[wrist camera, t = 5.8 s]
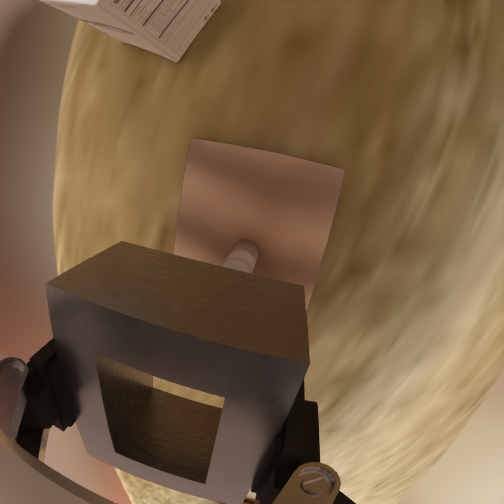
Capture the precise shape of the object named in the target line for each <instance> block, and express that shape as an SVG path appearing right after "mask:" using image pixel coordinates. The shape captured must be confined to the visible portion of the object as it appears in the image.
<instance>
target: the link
mask: <svg viewBox="0 0 504 504" xmlns="http://www.w3.org/2000/svg"><path fill="white" fill-rule="evenodd" d="M46 291H47V299H48V306H49V313H50V320H51V326H52V331H53V338H54V343H55V348H56V352H57V357H58V359H59V360H60V364H61V368H62V372H63V376H64V380H65V384H66V387H67V391H68V394H69V398H70V401H71V404H72V408H73V411H74V414H75V417H76V424H77V426H78V429H79V432H80V434H81V437H82V440H83V442H84V445H85V447H86V450H87V452H88V454H89V455H91V456H93V457H95V458H97V459H99V460H101V461H103V462H105V463H107V464H109V465H112V466H114V467H116V468H118V469H120V470H123V471H125V472H127V473H130V474H132V475H135V476H137V477H140V478H142V479H145V480H147V481H150V482H153V483H155V484H158V485H161V486H164V487H167V488H170V489H173V490H176V491H180V492H183V493H186V494H190V495H193V496H197V497H201V498H205V499H209V500H213V501H217V502H221V503H226V504H242V503H243V501H244V500H245V498H246V496H247V494H248V492H249V491H250V489H251V487H252V481H253V479H254V478H255V476H256V474H257V472H258V470H259V468H260V466H261V464H262V462H263V460H264V458H265V456H266V454H267V452H268V450H269V448H270V446H271V444H272V442H273V440H274V438H275V435H276V434H279V433H280V431H281V429H282V426H283V424H284V422H285V420H286V418H287V416H288V413H289V411H290V409H291V407H292V405H293V402H294V400H295V398H296V395H297V393H298V391H299V389H300V386H301V384H302V381H303V379H304V377H305V374H306V372H307V369H308V367H309V364H310V358H309V342H308V328H307V314H306V302H305V290H304V286H303V285H299V284H294V283H290V282H286V281H281V280H277V279H273V278H268V277H264V276H260V275H256V274H251V273H247V272H243V271H239V270H235V269H230V268H226V267H222V266H218V265H214V264H210V263H206V262H202V261H198V260H194V259H190V258H186V257H182V256H178V255H174V254H170V253H166V252H162V251H158V250H154V249H150V248H146V247H142V246H139V245H135V244H131V243H127V242H123V241H121V242H119V243H117V244H115V245H114V246H112V247H110V248H108V249H106V250H104V251H102V252H100V253H98V254H97V255H95V256H93V257H91V258H89V259H87V260H86V261H84V262H82V263H80V264H78V265H77V266H75V267H73V268H71V269H69V270H68V271H66V272H64V273H62V274H61V275H59V276H57V277H56V278H54V279H52V280H50V281H49V282H47V283H46ZM153 376H155V377H158V378H161V379H164V380H167V381H170V382H173V383H176V384H179V385H183V386H186V387H189V388H193V389H196V390H199V391H203V392H206V393H210V394H214V395H218V396H221V397H225V400H224V405H223V409H222V408H218V407H214V406H210V405H207V404H203V403H200V402H196V401H193V400H189V399H186V398H183V397H180V396H176V395H173V394H170V393H167V392H164V391H161V390H159V389H156V388H153Z"/></svg>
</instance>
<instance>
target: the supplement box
mask: <svg viewBox="0 0 504 504" xmlns="http://www.w3.org/2000/svg"><path fill="white" fill-rule="evenodd" d="M39 1H42V2H44V3H46V4H49V5H51V6H53V7H55V8H57V9H59V10H62V11H64V12H66V13H68V14H70V15H72V16H74V17H76V18H78V19H80V20H82V21H83V22H85V23H87V24H89V25H91V26H93V27H95V28H97V29H98V30H100V31H102V32H104V33H106V34H107V35H109V36H111V37H113V38H115V39H116V40H118V41H120V42H123V43H126V44H130V45H134V46H137V47H140V48H142V49H145V50H148V51H150V52H153V53H156V54H158V55H161V56H163V57H165V58H167V59H170V60H172V61H174V62H176V63H178V62H179V60H180V59H181V57H182V56H183V54H184V53H185V52H186V50H187V49H188V47H189V46H190V44H191V43H192V41H193V40H194V39H195V37H196V36H197V35H198V33H199V32H200V30H201V29H202V28H203V26H204V25H205V24H206V22H207V21H208V20H209V19H210V17H211V16H212V15H213V13H214V12H215V11H216V9H217V8H218V7H219V6H220V4H221V0H39Z"/></svg>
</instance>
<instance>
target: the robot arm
mask: <svg viewBox="0 0 504 504" xmlns="http://www.w3.org/2000/svg"><path fill="white" fill-rule="evenodd" d="M75 421H76V417H75V414H74V411H73V408H72V404H71V401H70V398H69V394H68V391H67V387H66V384H65V380H64V376H63V372H62V368H61V364H60V360H59V359H58V357H57V352H56V348H55V343H54V338H53V339H52V340H51V341H49V342H48V343H47V344H46V345H45V346H44V347H42V348H41V349H40V350H39V351H38V352H37V353H35V354H34V355H33V356H32V357H31V358H30V361H29V362H28V363H27V364H26V363H25V362H24V361H23V360H22V359H20V358H17V357H7V358H4V359H2V360H0V504H117V503H114V502H112V501H110V500H108V499H106V498H104V497H102V496H100V495H98V494H96V493H94V492H92V491H90V490H88V489H86V488H84V487H82V486H80V485H79V484H77V483H75V482H73V481H71V480H70V479H68V478H66V477H65V476H63V475H62V474H60V473H58V472H56V471H55V470H53V469H52V468H50V467H48V466H47V465H46V464H44V456H45V451H46V445H47V439H48V434H49V428H51V427H52V425H54V426H56V427H57V428H59V429H61V430H62V431H65V429H66V428H67V427H68V426H69V427H71V426H72V425H73V424H74V423H75ZM340 485H341V483H340V478H339V476H338V474H337V472H336V471H335V470H334V469H333V468H331V467H330V466H328V465H326V464H323V463H320V444H319V421H318V406H317V403H316V402H313V401H306V400H305V395H304V379H303V381H302V384H301V386H300V389H299V391H298V393H297V395H296V398H295V400H294V402H293V405H292V407H291V409H290V411H289V413H288V416H287V418H286V420H285V422H284V424H283V426H282V429H281V431H280V433H279V434H276V435H275V438H274V440H273V442H272V444H271V446H270V448H269V450H268V452H267V454H266V456H265V458H264V460H263V462H262V464H261V466H260V468H259V470H258V472H257V474H256V476H255V478H254V479H253V481H252V487H251V492H255V493H256V499H255V500H258V501H260V502H259V504H356V503H354V502H353V501H352V500H351V499H349V498H348V497H347V496H346V495H344V494H343V493H342V492H341V491H339V489H340Z"/></svg>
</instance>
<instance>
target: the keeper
mask: <svg viewBox="0 0 504 504" xmlns="http://www.w3.org/2000/svg"><path fill="white" fill-rule="evenodd" d="M344 174H345V170H344V169H341V168H337V167H333V166H329V165H325V164H322V163H318V162H313V161H309V160H305V159H301V158H297V157H292V156H288V155H283V154H279V153H274V152H269V151H264V150H259V149H254V148H249V147H243V146H238V145H232V144H226V143H220V142H214V141H207V140H201V139H194V138H191V140H190V145H189V151H188V156H187V162H186V168H185V174H184V180H183V186H182V192H181V199H180V206H179V213H178V220H177V228H176V236H175V244H174V252H173V254H174V255H178V256H182V257H186V258H190V259H194V260H198V261H202V262H206V263H210V264H214V265H218V266H222V267H226V268H230V269H235V270H239V271H243V272H247V273H251V274H256V275H260V276H264V277H268V278H273V279H277V280H281V281H286V282H290V283H294V284H299V285H303V286H304V290H305V302H306V312H307V309H308V306H309V302H310V299H311V296H312V293H313V289H314V286H315V283H316V280H317V276H318V273H319V269H320V266H321V262H322V259H323V255H324V252H325V248H326V245H327V241H328V237H329V234H330V230H331V226H332V222H333V219H334V215H335V211H336V207H337V203H338V199H339V195H340V191H341V186H342V182H343V178H344Z"/></svg>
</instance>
